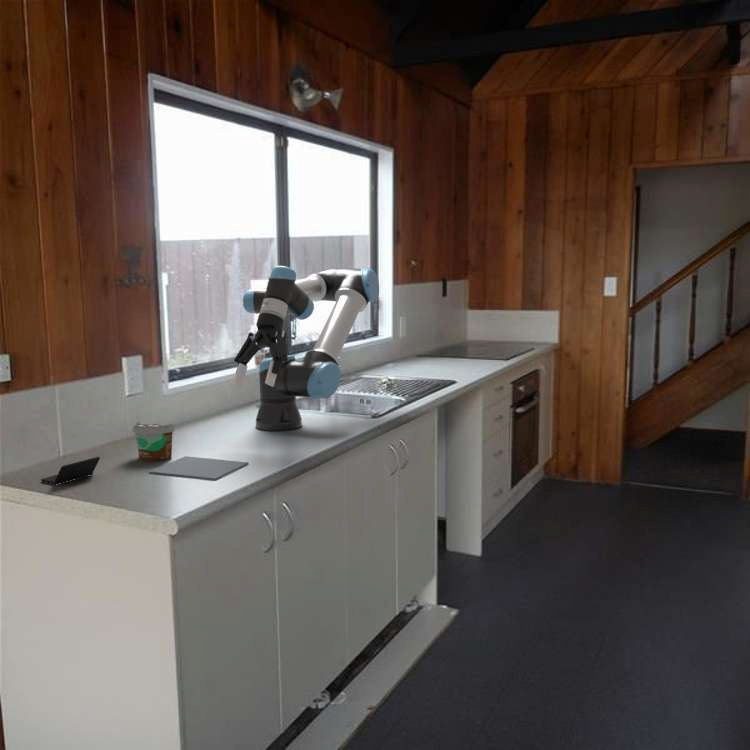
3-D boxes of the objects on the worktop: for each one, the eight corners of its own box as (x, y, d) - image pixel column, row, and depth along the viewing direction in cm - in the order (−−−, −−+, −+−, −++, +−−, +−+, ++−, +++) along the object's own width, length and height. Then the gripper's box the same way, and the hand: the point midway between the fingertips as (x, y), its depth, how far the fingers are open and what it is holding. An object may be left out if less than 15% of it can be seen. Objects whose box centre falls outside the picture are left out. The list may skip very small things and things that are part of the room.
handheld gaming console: (71, 465, 193) (84, 439, 189) (91, 483, 192) (104, 457, 188) (36, 483, 183) (49, 456, 179) (57, 502, 182) (70, 475, 178)
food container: (124, 460, 203) (122, 425, 202) (139, 455, 209) (137, 420, 207) (161, 464, 199) (159, 428, 197) (175, 459, 204) (174, 423, 203)
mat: (185, 458, 206) (185, 456, 206) (248, 464, 199) (248, 462, 199) (148, 473, 191) (148, 471, 191) (215, 480, 184) (215, 478, 184)
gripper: (234, 315, 220) (215, 381, 214) (292, 307, 204) (273, 379, 198) (253, 325, 226) (234, 391, 219) (311, 318, 210) (292, 389, 203)
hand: (252, 385), depth 209 cm, fingers open, 13 cm apart
